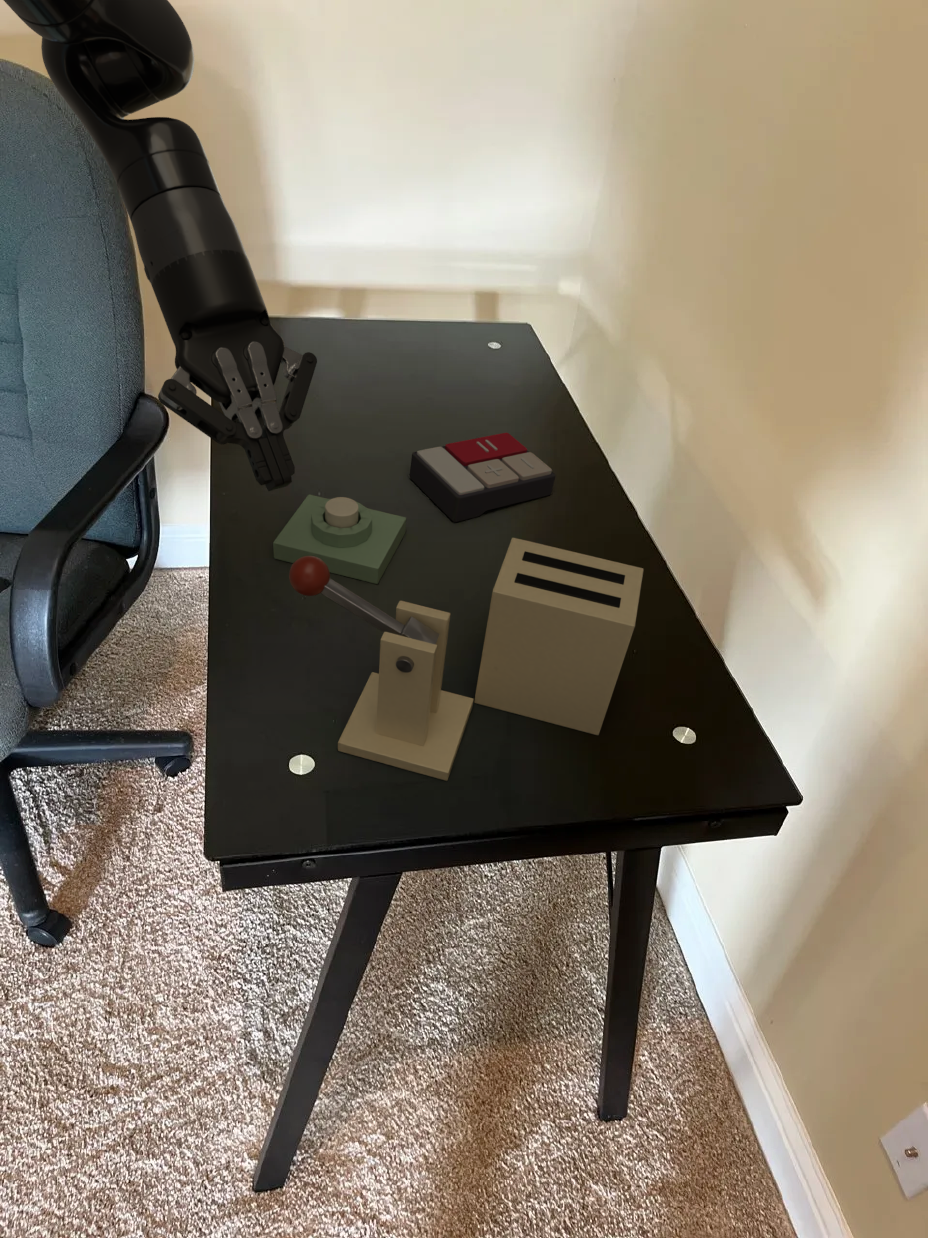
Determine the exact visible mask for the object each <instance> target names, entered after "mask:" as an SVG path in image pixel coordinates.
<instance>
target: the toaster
mask: <svg viewBox="0 0 928 1238" xmlns="http://www.w3.org/2000/svg"><path fill="white" fill-rule="evenodd" d="M643 575H644V567H643V568H642V567H639V566H635V565H630V564H626V563H621V562H619V561H613V560H608V559H605V558H600V557H597V556H593V555H589V554H584V553H580V552H575V551H571V550H567V549H564V548H560V547H559V548H558V547H554V546H550V545H546V544H542V543H538V542H534V541H530V540H526V539H521V538H517V537H511V540H510V542H509V545H508V548H507V551H506V553H505V556H504V559H503V562H502V564H501V567H500V570H499V573H498V575H497V578H496V581H495V582H494V583H495V584H494V586H493V588H492V592H491V598H490V604H489V611H488V616H487V622H486V628H485V633H484V640H483V646H482V652H481V657H480V664H479V670H478V677H477V682H476V688H475V694H474V700H473V704H476V705H477V704H478V705H480V706H485V707H489V708H492V709H496V710H499V711H504V712H508V713H512V714H515V715H520V716H522V717H526V718H530V719H534V720H538V721H542V722H546V723H550V724H554V725H557V726H561V727H565V728H569V729H571V730H576V731H579V732H584V733H587V734H591V735H595V736H599V735H600V733H601V730H602V727H603V723H604V720H605V718H606V715H607V712H608V708H609V706H610V703H611V700H612V697H613V694H614V690H615V687H616V686H617V685H616V684H617V681H618V679H619V675H620V672H621V669H622V666H623V663H624V660H625V658H626V654H627V651H628V649H629V645H630V642H631V639H632V636H633V633H634V631H635V628H636V621H637V615H638V609H639V602H640V596H641V589H642V583H643V582H642V581H643Z"/></svg>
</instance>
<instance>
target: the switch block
mask: <svg viewBox="0 0 928 1238" xmlns="http://www.w3.org/2000/svg"><path fill="white" fill-rule="evenodd" d="M329 500H331V498H325V497H322V496H318V495H314V494H309V493H308V494H307V495H306V497H305V498H304V499H303V501H302V502H301V503H300V505H299V506H298V508H297V509H296V510H295V512H294V513H293V515H292V516H291V517H290V519H288V521H287V523H286V524H285V526H284V527H283V529H281V531H280V532H279V534H278V535H277V537H275V539H274V541H272V548H273V549H272V550H273V559H275V560H278V561H282V562H287V563H291V564H293V563H294V562H295V561H296V560H298V559H299V558H301V557H304V556H315V557H317V558H320V559H321V560H322V561H324V562H325V564H326V565H327V567H328V569H329V572H330V574H335V575H338V576H339V575H340V576H343V577H347V578H351V579H355V580H359V581H363V582H367V583H371V584H375V585H379V582H380V580H381V579H382V577H383V575H384V573H385V572H386V570H387V568H388V566H389V564H390V562H391V560H392V559H393V556H394V555H395V554H396V551H397V549H398V547H399V545H400V543H401V541H402V539H403V538H404V536H405V534H406V532H407V531H406V528H407V517H406V516H402V515H397V514H392V513H388V512H384V511H380V510H378V509H377V510H376V509H372V508H367V507H366V506H364V505H363V504H362V503H360V502H358V501H355V502H356V503H357V504H358V522H357V524H356V525H354V526H352V527H350V528H337V527H333V526H330V525H329V524H327V522H326V520H325V505H326V503H327V502H328V501H329Z"/></svg>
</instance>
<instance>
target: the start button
mask: <svg viewBox="0 0 928 1238" xmlns="http://www.w3.org/2000/svg"><path fill="white" fill-rule="evenodd" d="M356 502H357V501H356V500H354V499H352V498H351V497H345V496H337V497H333V498H330V500H329V501H328V502H327V503H326V505H325V520H326V522H327V524H329V525H330V526H333V527H337V528H350V527H352V526H354V525H356V524H357V522H358V504H357V503H356Z"/></svg>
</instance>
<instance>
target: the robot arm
mask: <svg viewBox="0 0 928 1238" xmlns="http://www.w3.org/2000/svg"><path fill="white" fill-rule="evenodd" d="M3 2H4V3H5V4H6V5H7V6H8V7H9V8H10V9H11V10H12V12H13V13H15V15H16V16H17V17H18V18H19V19H20V20H21V21H22V22H23V23H24V24H25V25H26V26H27V27H28V28H29V29H31V30H32V31H33V32H35V33H36V35H38V36H40V37H41V49H40V50H41V57H42V62H43V65H44V69H45V70H46V72H47V75H48V77H49V78H50V80H51V82H52V83H53V85H54V86H55V88H56V89H57V91H58V93H59V95H61V97H62V98H63V100H64V101H65V102H66V104H67V105H68V106H69V107H70V109H71V110H72V112H73V113H74V114H75V116H76V117H77V118H78V120H79V121H80V122H81V123H82V125H83V126H84V128H85V129H86V130H87V132H88V134H89V135H90V137H91V139H92V140H93V142H94V143H95V145H96V146H97V149H98V150H99V152H100V153H101V155H102V157H103V158H104V161H105V162H106V164H107V165H108V168H109V170H110V172H111V174H112V176H113V178H114V181H115V183H116V186H117V188H118V190H119V194H120V196H121V199H122V202H123V204H124V207H125V209H126V210H125V211H126V213H127V215H128V217H129V221H130V222H131V225H132V228H133V229H132V230H133V232H134V236H135V241H136V245H137V249H138V252H139V256H140V258H141V261H142V264H143V271H144V274H145V276H146V279H147V280H148V281H149V283H150V285H151V288H152V290H153V294H154V295H155V298H156V301H157V303H158V306H159V308H160V311H161V314H162V317H163V319H164V322H165V324H166V327H167V330H168V332H169V335H170V338H171V340H172V342H173V345H174V347H175V355H174V356H175V357H174V366H175V369H176V371H175V372H174V373H173V375H171V377H170V378H168V379H166V380H165V381H164V382H163V384H162V386H161V388H160V390H159V391H158V395H157V399H158V401H159V403H160V404H161V405H163V406H164V407H165V408H166V409H168V410H169V411H171V412H173V413H174V414H176V415H177V416H178V417H180V418H181V419H183V420H184V421H186V422H187V423H188V424H190V425H191V426H193V427H194V428H196V429H197V430H198V431H200V432H201V433H203V434H204V435H206V436H207V437H208V438H209V439H211V440H213V442H216V443H217V444H219V445H227V444H233V445H239V446H240V447H242V449H243V450H244V452H245V454H246V457H247V460H248V462H249V465H250V468H251V470H252V472H253V476H254V479H255V481H256V482H257V483H258V485H260V486H265V488H266V490H267V491H268V492H271V491H275V490H278V489H282V488H285V487H288V485H290V484H292V482H293V478H292V476H293V475H294V474H295V472H296V471H295V464H294V461H293V460H292V456H291V453H290V451H289V448H288V444H287V442H286V439H285V437H284V431H286V430H289V429H290V428H291V427H292V426H293V424H294V423H295V422H297V421H298V420H299V419H300V417H301V415H302V411H303V409H304V405H305V402H306V399H307V395H308V392H309V390H310V386H311V383H312V380H313V376H314V373H315V370H316V367H317V364H318V359H317V356H316V355H315V354H314V353H312V352H310V351H307V352H304V353H303V354H301V353H299V352H298V351H296V350H294V349H291V348H289V347H287V346H286V345H285V341H284V338H283V337H282V335H281V334H280V333H278V332H277V330H276V329H275V328H274V327H273V325H272V323H271V320H270V316H269V313H268V309H267V306H266V303H265V301H264V298H263V295H262V293H261V289H260V287H259V285H258V281H257V279H256V276H255V274H254V270H253V268H252V266H251V263H250V261H249V258H248V254H247V253H246V250H245V247H244V244H243V242H242V239H241V235H240V233H239V231H238V228H237V226H236V223H235V221H234V220H233V217H232V216H231V214H230V212H229V210H228V208H227V206H226V204H225V202H224V199H223V196H222V194H221V191H220V188H219V186H218V183H217V180H216V178H215V175H214V172H213V169H212V167H211V165H210V161H209V159H208V156H207V153H206V151H205V148H204V146H203V143H202V141H201V139H200V138H199V135H198V134H197V132H196V131H195V130H194V129H193V128H192V127H191V125H189V124H187V123H186V122H184V121H183V120H180V119H178V118H173V117H168V116H151V117H141V118H131V119H125V118H126V117H128V116H129V115H132V114H135V113H137V112H140V111H141V110H143V109H146V108H148V107H151V106H153V105H155V104H157V103H160V102H164V101H165V100H167V99H169V98H172V97H174V96H177V95H178V94H179V93H181V92H183V91H184V90H185V89H186V88H188V85H189V84H190V82H191V80H192V77H193V75H194V69H195V52H194V47H193V43H192V39H191V36H190V34H189V32H188V29H187V27H186V25H185V23H184V21H183V20H182V18H181V17H180V14H178V12H177V10H176V9H175V7H174V6H173V5H172V4H171V2H170V1H169V0H3ZM281 365H282V366H283V371H282V373H283V376H284V378H285V379H286V380H288V383H287V386H286V389H285V393H284V395H283V399H282V401H281V405H280V408H279V409H278V405H277V394H276V390H275V387H274V385H275V383H276V381H277V377H278V374H279V371H280V367H281ZM196 387H197V388H198V389H199V390H200V391H201V392H203V393H204V394H205V395H207V396H208V397H209V398H210V399H212V400H213V401H215V402H217V403H218V404H219V405H220V408H221V410H222V412H223V413H222V412H221V411H220V410H218V409H217V408H215V407H214V406H213V405H211V404H210V403H208V401H205V400H204V399H203V398H201V397H200V396H198V395H197V393H198V392H197V388H196Z"/></svg>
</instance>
